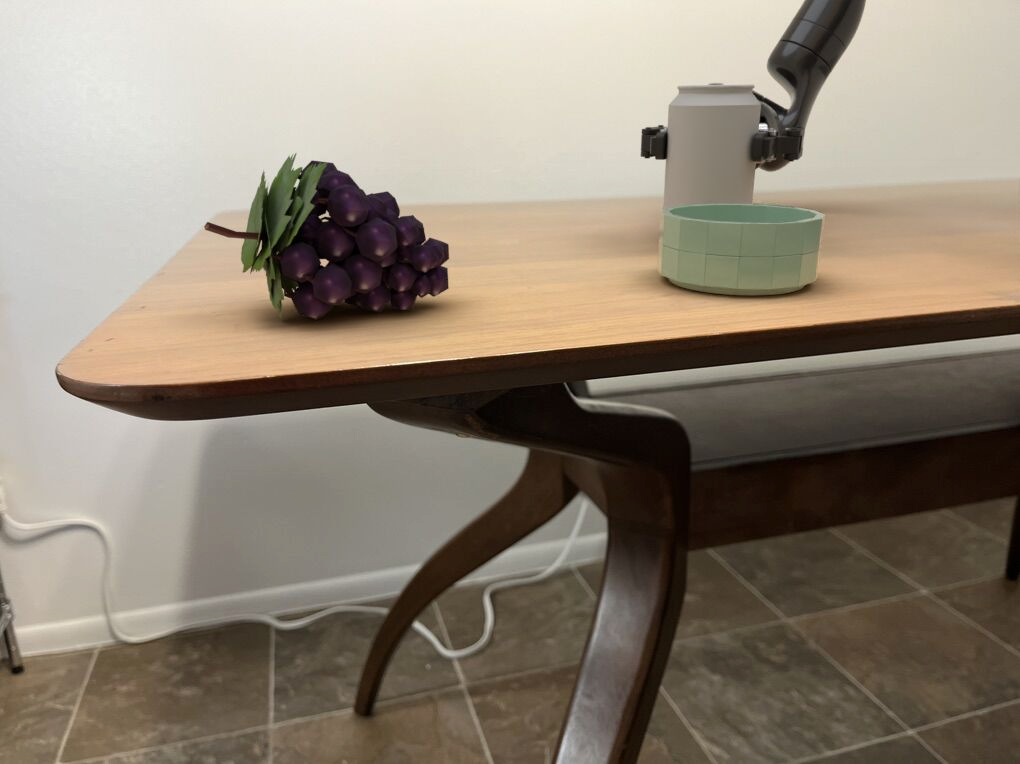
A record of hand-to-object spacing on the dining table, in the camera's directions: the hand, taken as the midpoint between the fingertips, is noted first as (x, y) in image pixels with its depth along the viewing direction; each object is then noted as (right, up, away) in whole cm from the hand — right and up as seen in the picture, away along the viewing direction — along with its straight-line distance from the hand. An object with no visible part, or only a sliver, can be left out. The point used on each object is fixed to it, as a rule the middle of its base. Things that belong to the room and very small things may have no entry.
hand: (707, 147), depth 67 cm
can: (+1, -6, +4) cm, 7 cm away
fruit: (-27, -15, -15) cm, 35 cm away
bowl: (0, -12, -7) cm, 14 cm away
